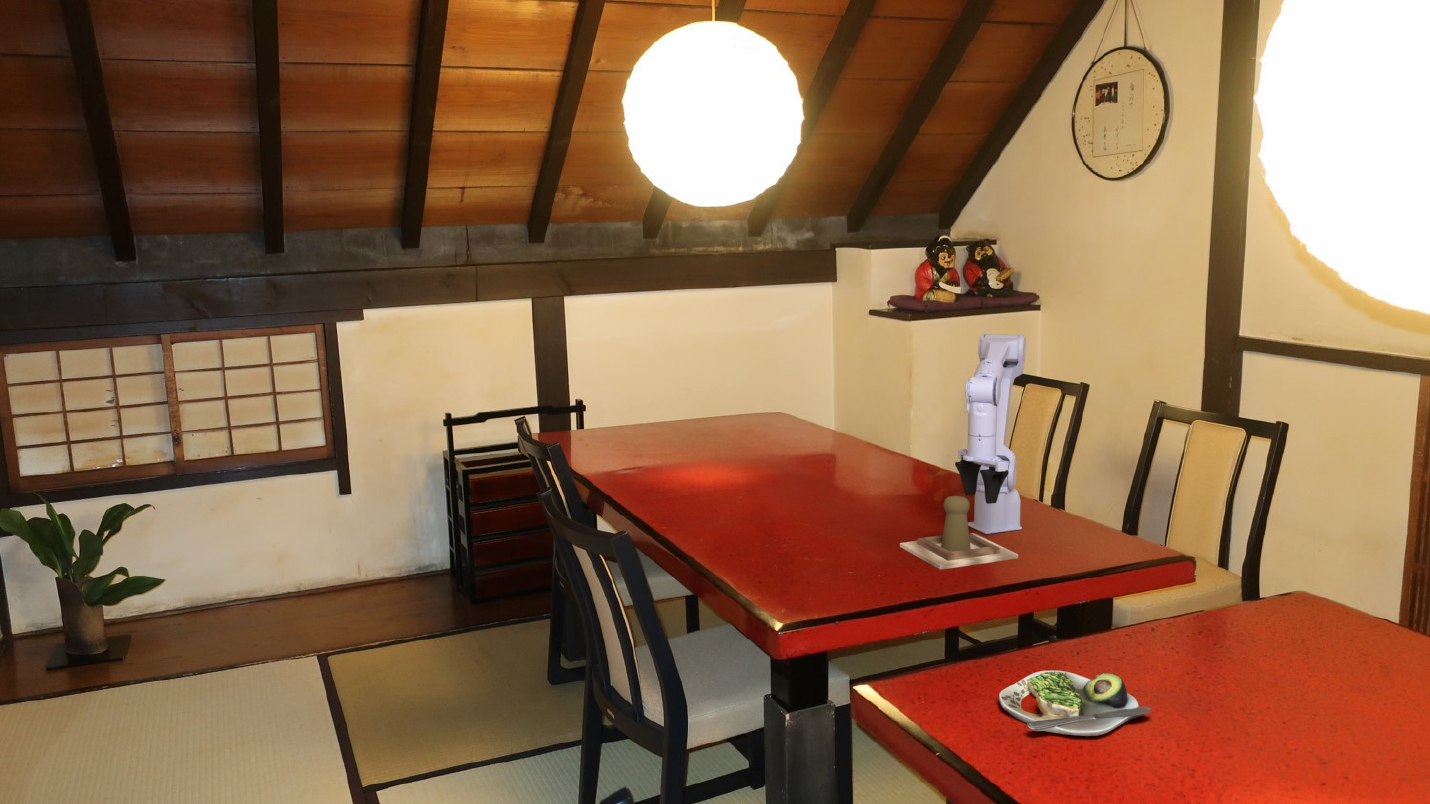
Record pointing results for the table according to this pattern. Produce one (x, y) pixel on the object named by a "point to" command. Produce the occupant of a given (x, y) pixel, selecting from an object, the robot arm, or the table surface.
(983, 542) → the socket board
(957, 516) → the olive tapered peg
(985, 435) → the robot arm
